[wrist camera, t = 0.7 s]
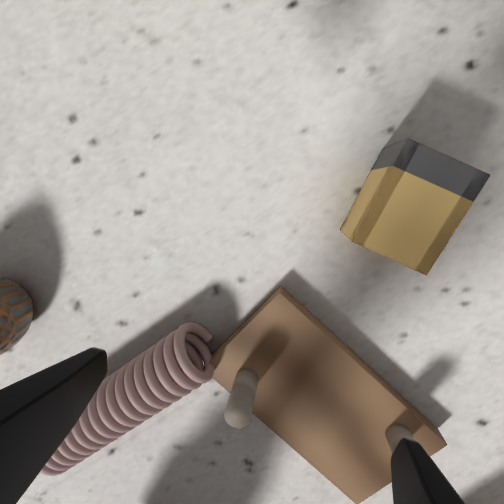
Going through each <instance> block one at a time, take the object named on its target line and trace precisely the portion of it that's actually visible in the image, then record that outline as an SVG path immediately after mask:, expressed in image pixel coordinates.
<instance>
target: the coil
mask: <svg viewBox="0 0 504 504" xmlns="http://www.w3.org/2000/svg"><path fill="white" fill-rule="evenodd" d="M196 334H197V335H196ZM198 335H199V336H200V337H201V338H202V339H203V340H204V341H205V342H208V341H209V340H210V339H211V338H212V337H213V335H212V334H211V333H210V332H209V331H208V330H207V329H206V328H205V327H203V326H202V325H200V324H197V323H194V322H186V323H184V324H182V325H180V326H179V327H178V329H176V330H174V331H172V332H171V333H169V335H168V336H165V337H164V338H162V339H161V340H160V341H159V342H157V343H155V344H153V345H152V346H151V347H150V348H149V349H147V350H145V351H143V352H142V353H141V354H140V355H138V356H136V357H135V358H133V359H132V360H131V361H130V362H128V363H126V364H125V365H124V366H123V367H121V368H119V369H118V370H116V371H115V372H114V373H113V374H111V375H109V376H108V377H107V378H105V379H104V380H103V381H102V383H101V384H100V386H99V388H98V389H97V391H96V392H95V394H94V396H93V397H92V399H91V401H90V402H89V404H88V405H87V407H86V409H85V410H84V412H83V413H82V415H81V417H80V418H79V420H78V421H77V423H76V424H75V426H74V427H73V429H72V430H71V431H70V433H69V434H68V435H67V437H66V438H65V439H64V441H63V442H62V443H61V445H60V446H59V447H58V449H57V450H56V451H55V453H54V454H53V455H52V457H51V458H50V459H49V461H48V462H47V463H46V465H45V466H44V467H43V469H42V470H41V471H40V473H42V474H45V475H48V476H55V475H59V474H62V473H63V472H65V471H67V470H68V469H70V468H71V467H73V466H75V465H76V464H77V463H79V462H81V461H83V460H84V459H85V458H87V457H89V456H91V455H92V454H93V453H95V452H97V451H99V450H100V449H101V448H103V447H105V446H107V445H108V444H109V443H111V442H113V441H115V440H116V439H117V438H118V437H120V436H122V435H124V434H125V433H126V432H128V431H130V430H132V429H133V428H135V427H136V426H138V425H140V424H141V423H143V422H144V421H145V420H147V419H149V418H151V417H152V416H153V415H154V414H157V413H159V412H160V411H162V410H163V409H164V408H166V407H168V406H170V405H171V404H172V403H173V402H176V401H178V400H179V399H181V398H182V396H185V395H187V394H189V393H190V392H191V391H192V390H194V389H197V388H199V387H200V386H201V385H202V383H206V382H208V381H210V380H211V378H212V377H213V374H214V366H213V365H212V364H209V362H210V360H211V358H212V355H211V352H210V350H209V349H208V347H207V345H206V344H205V343H204V341H203V340H202V339H201V338H200V337H199V336H198ZM187 340H188V341H189V342H188V341H187ZM190 342H191V343H192V344H193V345H194V346H195V347H196V348H197V350H198V351H199V353H200V354H201V356H202V359H203V361H202V359H201V357H200V355H199V353H198V352H197V350H196V349H195V347H194V346H193V345H192V344H191V343H190ZM187 354H188V355H187ZM188 356H189V357H190V359H191V361H192V362H191V361H190V359H189V357H188ZM176 358H177V359H176ZM203 362H204V365H203ZM192 363H193V364H192ZM204 366H205V369H204V370H203V367H204ZM184 372H185V373H184Z"/></svg>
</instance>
